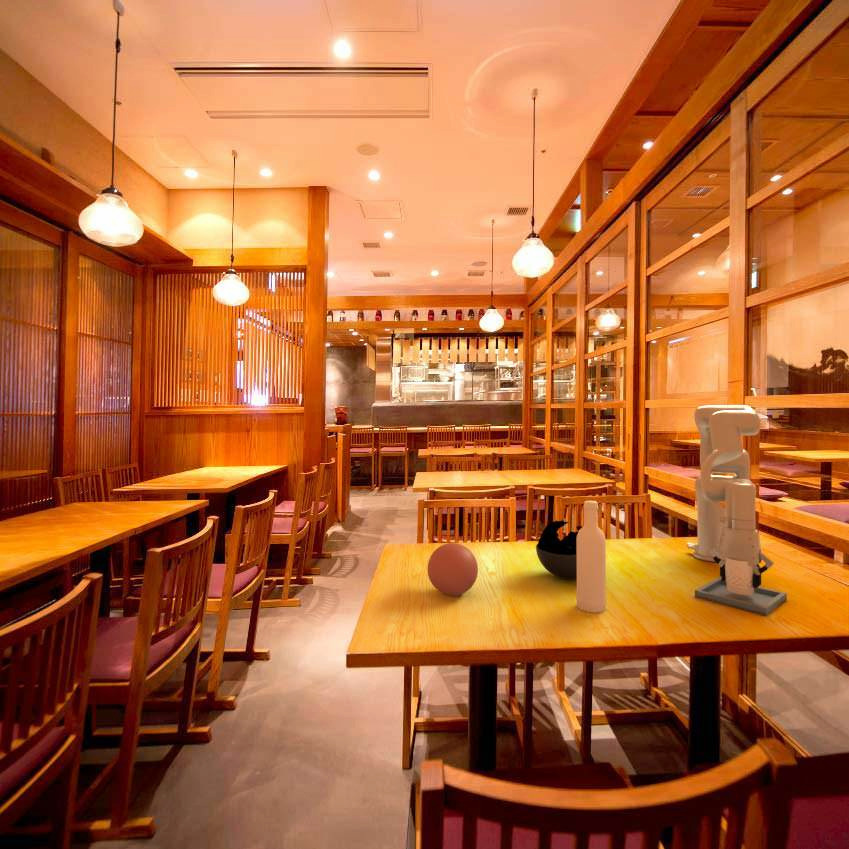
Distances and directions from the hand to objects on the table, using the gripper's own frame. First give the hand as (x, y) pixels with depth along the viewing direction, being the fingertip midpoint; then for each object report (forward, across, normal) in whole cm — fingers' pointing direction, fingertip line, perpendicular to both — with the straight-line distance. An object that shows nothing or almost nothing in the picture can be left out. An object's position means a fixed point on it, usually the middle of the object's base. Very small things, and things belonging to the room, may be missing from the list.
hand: (740, 583), depth 140 cm
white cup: (+3, 0, 0) cm, 3 cm away
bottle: (+5, -24, -40) cm, 47 cm away
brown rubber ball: (+5, -59, -62) cm, 86 cm away
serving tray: (+4, 0, 0) cm, 4 cm away
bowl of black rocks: (+5, -44, -23) cm, 50 cm away
